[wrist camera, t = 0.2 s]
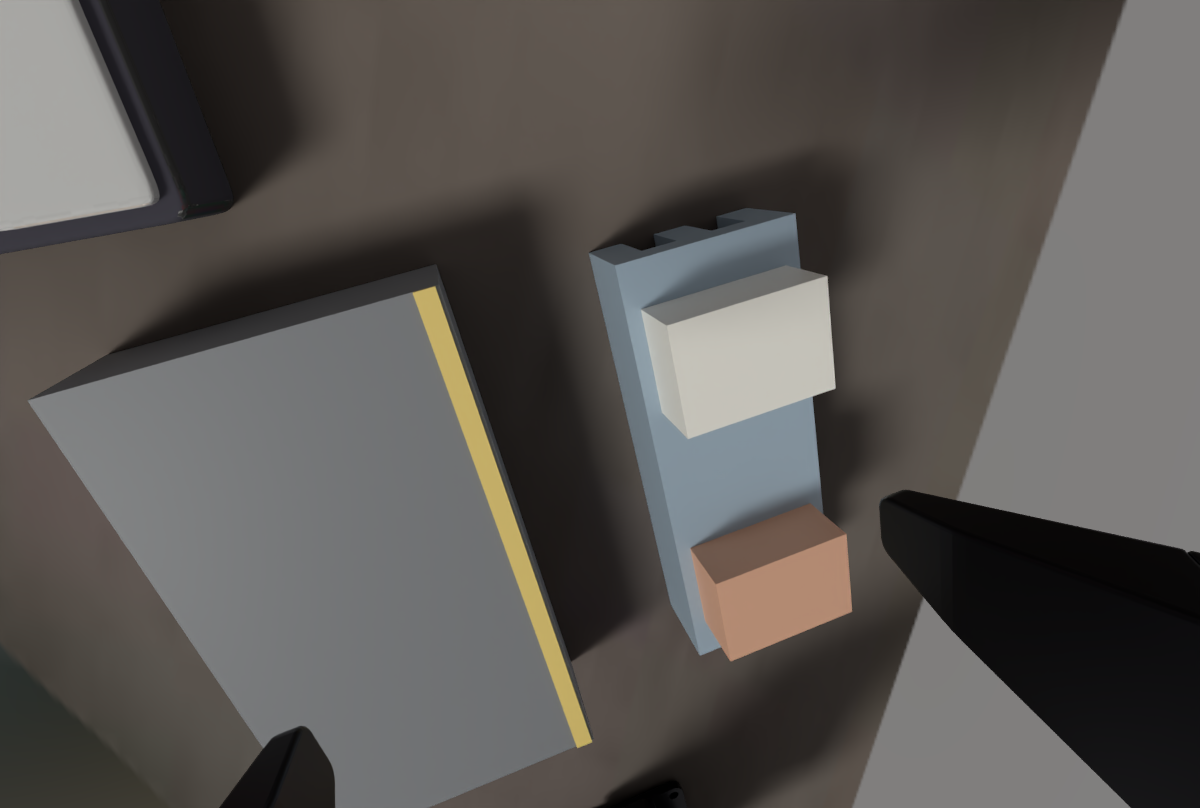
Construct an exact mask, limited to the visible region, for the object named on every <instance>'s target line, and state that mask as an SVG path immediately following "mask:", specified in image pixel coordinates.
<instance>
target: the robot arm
mask: <svg viewBox="0 0 1200 808" xmlns="http://www.w3.org/2000/svg"><path fill="white" fill-rule="evenodd" d="M879 510H880V525H881V539H882V543H883V546H884V548H885V550H886V552H887V554H888V555H889V556H890V557H891V559H892V560H893V561H894V562H895V563H896V565H897V566H898V567H899V568H900V569H901V571H902V572H903V573H904V574H905V575H906V577H907V578H908V579H909V580H910V581H911V583H912V584H913V585H914V586H915V587H916V589H917V590H918V591H919V592H920V593H921V595H922V596H923V597H924V598H925V599H926V601H927V602H928V603H929V604H930V605H931V607H932V608H933V609H934V610H935V611H936V612H937V614H938V615H939V616H940V617H941V619H942V620H943V621H944V622H945V623H946V624H947V625H948V626H949V627H950V629H951V630H952V631H953V632H954V633H955V634H956V635H957V636H958V637H959V638H960V639H961V640H962V641H963V642H964V643H965V644H966V645H967V646H968V647H969V648H970V649H971V650H972V651H973V652H974V653H975V654H976V655H977V656H978V657H979V658H980V659H981V660H982V661H983V662H984V663H985V664H986V665H987V666H988V667H989V668H990V669H991V670H992V671H993V672H994V673H995V674H996V675H997V676H998V677H999V678H1000V679H1001V680H1002V681H1003V682H1004V683H1005V684H1006V685H1007V686H1008V687H1009V688H1010V689H1011V690H1012V691H1013V692H1014V693H1015V694H1016V695H1017V696H1018V697H1019V698H1020V699H1021V700H1023V702H1024V703H1025V704H1026V705H1027V706H1029V708H1030V709H1031V710H1033V712H1034V713H1036V714H1037V715H1038V716H1039V717H1040V718H1041V719H1042V720H1043V721H1044V722H1045V723H1046V724H1047V725H1048V726H1049V727H1050V728H1051V729H1052V730H1053V731H1054V732H1055V733H1056V734H1057V735H1058V736H1059V737H1060V738H1061V739H1062V740H1063V741H1064V742H1065V743H1066V744H1067V745H1068V746H1069V747H1070V748H1071V749H1072V750H1073V751H1074V752H1075V753H1076V754H1077V755H1078V756H1079V757H1080V758H1081V759H1082V760H1083V761H1084V762H1085V763H1086V764H1087V765H1088V766H1089V767H1090V768H1091V769H1092V770H1093V771H1094V772H1095V773H1096V774H1097V775H1098V776H1099V777H1100V778H1101V779H1102V780H1103V781H1104V782H1105V783H1107V784H1108V785H1109V787H1111V789H1113V791H1115V792H1116V793H1117V794H1118V795H1119V796H1120V797H1121V798H1122V799H1123V800H1124V801H1125V802H1126V803H1127V804H1128V805H1129V806H1130V807H1131V808H1200V553H1199V552H1194V551H1190V552H1188V553H1187V552H1186V551H1185V550H1183V549H1180V548H1175V547H1171V546H1166V545H1161V544H1156V543H1152V542H1147V541H1142V540H1138V539H1133V538H1129V537H1124V536H1119V535H1115V534H1110V533H1105V532H1101V531H1096V530H1092V529H1087V528H1082V527H1078V526H1073V525H1068V524H1064V523H1059V522H1054V521H1050V520H1045V519H1041V518H1035V517H1031V516H1026V515H1022V514H1017V513H1013V512H1007V511H1003V510H999V509H994V508H989V507H984V506H980V505H976V504H971V503H966V502H961V501H957V500H952V499H948V498H943V497H938V496H934V495H929V494H924V493H920V492H915V491H911V490H901V491H898V492H896V493H893V494H890V495H888V496H885V497H884V498H882V499H881V501H880V504H879ZM219 808H335V776H334V771H333V767H332V765H331V762H330V761H329V759H328V757H327V756H326V754H325V753H324V751H323V749H322V748H321V746H320V745H319V743H318V741H317V740H316V738H315V737H314V735H313V733H312V732H311V731H310V729H309V728H307V727H306V726H298V727H295V728H293V729H290V730H287V731H285V732H282V733H280V734H277V735H276V736H274V737H273V738H271V739H270V741H269V742H268V743H267V744H266V746H265V747H264V748H263V750H262V751H261V752H260V754H259V755H258V756H257V758H256V759H255V760H254V762H253V763H252V764H251V766H250V767H249V768H248V770H247V771H246V772H245V774H244V775H243V776H242V778H241V779H240V780H239V782H238V783H237V785H236V786H235V787H234V789H233V790H232V791H231V793H230V794H229V795H228V797H227V798H226V799H225V801H224V802H223V803H222V805H221V806H220V807H219ZM611 808H687V805H686V801H685V798H684V794H683V791H682V788H681V786H680V784H679V782H677V781H671V782H668V783H666V784H664V785H661V786H659V787H657V788H655V789H652V790H650V791H648V792H645V793H643V794H641V795H639V796H636V797H634V798H632V799H629V800H627V801H625V802H623V803H620V804H618V805H616V806H613V807H611Z"/></svg>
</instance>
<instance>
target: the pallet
mask: <svg viewBox="0 0 1200 808" xmlns="http://www.w3.org/2000/svg"><path fill="white" fill-rule="evenodd" d="M716 219H717V226H718V229H716V230H712V231H710V230H705V229H700V228H695V227H691V226H686V225H685V226H681V227H678V228H674V229H671V230H667V231H664V232H660V233H657V234H654V239H655V245H656V247H653V248H650V249H646V250H643V251H641V250H638V249H635V248H633V247H630V246H627V245H624V244H618V245H614V246H611V247H607V248H604V249H600V250H597V251H593V252H590V253H589V256H590V260H591V264H592V269H593V273H594V277H595V282H596V286H597V290H598V294H599V299H600V303H601V307H602V312H603V316H604V320H605V324H606V329H607V333H608V337H609V342H610V346H611V350H612V354H613V359H614V363H615V367H616V372H617V376H618V380H619V384H620V389H621V393H622V397H623V401H624V406H625V410H626V414H627V419H628V423H629V427H630V431H631V436H632V440H633V444H634V449H635V453H636V457H637V461H638V466H639V470H640V474H641V479H642V483H643V487H644V491H645V496H646V500H647V504H648V509H649V513H650V517H651V521H652V526H653V530H654V534H655V539H656V543H657V547H658V551H659V556H660V560H661V564H662V568H663V573H664V577H665V581H666V586H667V590H668V594H669V598H670V603H671V606H672V607H673V609H674V611H675V613H676V614H677V616H678V618H679V620H680V621H681V623H682V625H683V627H684V628H685V630H686V632H687V634H688V635H689V637H690V639H691V641H692V642H693V644H694V646H695V648H696V649H697V651H698V653H699V655H703V654H705V653H708V652H710V651H712V650H715V649H717V648H720V647H721V646H720V644H719V642H718V641H717V639H716V638H715V636H714V634H713V633H712V631H711V630H710V628H709V626H708V625H707V623H706V622H705V618H704V613H703V608H702V604H701V599H700V594H699V589H698V584H697V579H696V575H695V570H694V565H693V560H692V555H691V550H690V548H692V547H695V546H697V545H700V544H703V543H705V542H708V541H711V540H713V539H716V538H719V537H721V536H724V535H727V534H729V533H732V532H735V531H737V530H740V529H743V528H745V527H748V526H751V525H753V524H756V523H759V522H761V521H764V520H767V519H769V518H772V517H775V516H777V515H780V514H783V513H785V512H788V511H791V510H793V509H796V508H799V507H801V506H804V505H807V504H810V503H811V504H812V505H813V506H814V507H815V508H816V509H818V510H819V511H820V512H821V513H822V514H823V506H822V495H821V484H820V473H819V462H818V452H817V441H816V430H815V419H814V408H813V398H812V397H809V398H806V399H804V400H801V401H798V402H795V403H792V404H789V405H786V406H783V407H780V408H777V409H774V410H771V411H769V412H766V413H763V414H760V415H757V416H754V417H751V418H748V419H745V420H742V421H739V422H737V423H734V424H731V425H728V426H725V427H722V428H719V429H716V430H713V431H710V432H707V433H705V434H702V435H699V436H696V437H693V438H690V439H687V438H686V437H685V436H684V435H683V434H682V433H681V431H680V430H679V429H678V428H677V427H676V426H675V425H674V424H673V423H672V422H671V421H670V420H669V419H668V418H667V417H666V416H665V415H664V414H663V413H662V410H661V405H660V400H659V396H658V391H657V386H656V381H655V376H654V371H653V366H652V362H651V357H650V352H649V347H648V342H647V337H646V332H645V328H644V323H643V318H642V313H641V309H643V308H647V307H650V306H653V305H657V304H660V303H663V302H667V301H670V300H673V299H676V298H680V297H683V296H686V295H690V294H693V293H696V292H699V291H703V290H706V289H709V288H713V287H716V286H719V285H722V284H726V283H729V282H732V281H736V280H739V279H742V278H746V277H749V276H752V275H755V274H759V273H762V272H765V271H769V270H772V269H775V268H778V267H782V266H785V265H787V266H791V267H795V268H799V269H801V268H800V257H799V246H798V236H797V225H796V214H795V213H788V212H779V211H770V210H761V209H752V208H744V209H741V210H737V211H734V212H730V213H727V214H723V215H720V216H716Z"/></svg>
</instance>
